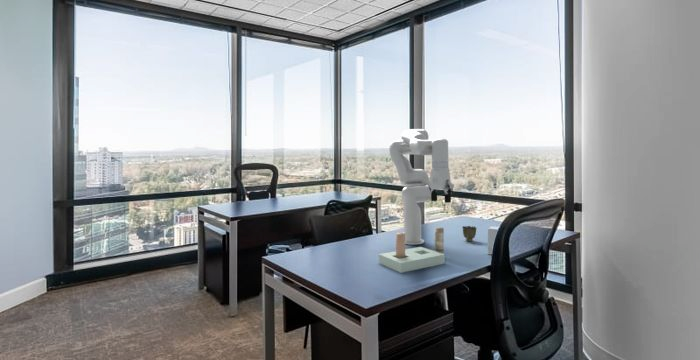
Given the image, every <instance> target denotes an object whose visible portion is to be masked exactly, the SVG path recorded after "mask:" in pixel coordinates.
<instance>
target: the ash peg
mask: <svg viewBox="0 0 700 360" xmlns="http://www.w3.org/2000/svg"><path fill="white" fill-rule="evenodd" d="M444 236H445V235H444V227H434V251H436V252H439V253H442V254H445V253H444V250H445V249H444V248H445V247H444V244H445V243H444V241H445V240H444V239H445V238H444Z"/></svg>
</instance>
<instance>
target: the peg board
mask: <svg viewBox="0 0 700 360" xmlns="http://www.w3.org/2000/svg"><path fill="white" fill-rule="evenodd" d="M445 259H446V258H445V253H444V254H442V253H439V252H436V251H435V250H433V249H429V248H426V247H422V246H418V247H412V248H405V258H401V259H399V258H396V250H395V251H390V252H383V253H379V254H378V264H379V265H382V266H384V267H387V268H389V269H391V270H394V271H396V272H398V273H400V274H401V273H406V272H411V271H416V270H421V269H425V268H429V267H434V266H438V265H444V264H445V262H446V261H445Z"/></svg>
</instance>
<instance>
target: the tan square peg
mask: <svg viewBox="0 0 700 360" xmlns="http://www.w3.org/2000/svg"><path fill="white" fill-rule="evenodd" d="M405 249H406V244H405V233H403V232H396V233H395V251H396V258H399V259H401V258H405Z"/></svg>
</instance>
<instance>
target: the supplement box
mask: <svg viewBox="0 0 700 360" xmlns="http://www.w3.org/2000/svg"><path fill="white" fill-rule="evenodd" d="M499 227H500V226H493V225H492V226H490V227H489V228H487V254H488V255H491V253H492V247H493V242H494V239H495V236H496V234H497V231H498V228H499Z"/></svg>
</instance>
